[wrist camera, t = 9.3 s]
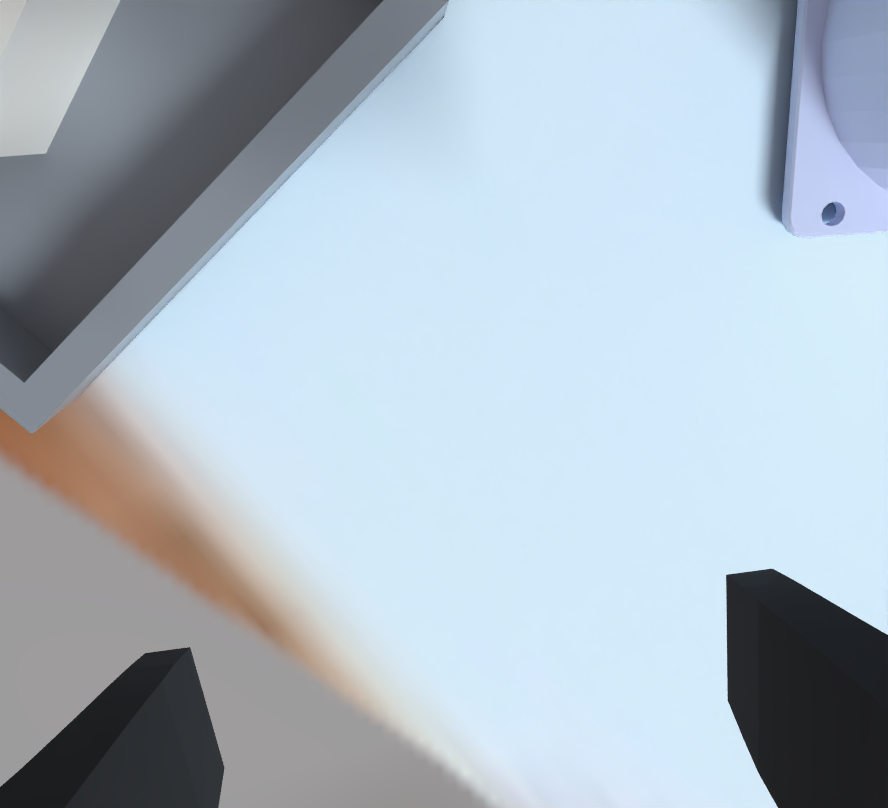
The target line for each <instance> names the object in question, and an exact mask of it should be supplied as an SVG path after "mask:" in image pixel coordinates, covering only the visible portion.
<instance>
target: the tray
mask: <svg viewBox="0 0 888 808" xmlns="http://www.w3.org/2000/svg"><path fill="white" fill-rule="evenodd" d="M448 1H449V0H120V2H119V4H118V6H117V8H116V11H115V13H114V15H113V17H112V19H111V21H110V23H109V25H108V27H107V29H106V31H105V33H104V35H103V37H102V39H101V41H100V43H99V45H98V48H97V50H96V52H95V54H94V56H93V58H92V60H91V62H90V64H89V66H88V68H87V70H86V72H85V74H84V76H83V78H82V80H81V82H80V84H79V87H78V89H77V91H76V93H75V95H74V97H73V99H72V101H71V103H70V105H69V107H68V109H67V111H66V113H65V115H64V117H63V119H62V121H61V124H60V126H59V128H58V130H57V132H56V134H55V136H54V138H53V140H52V142H51V144H50V146H49V148H48V150H47V152H46V154H33V155H19V156H5V157H0V409H2V410H3V411H4V412H5V413H7V414H8V415H9V416H10V417H11V418H13V419H14V420H15V421H16V422H18V423H19V424H20V425H21V426H23V427H24V428H25V429H26V430H28V431H29V432H30V433H31V434H33V433H34V432H35V431H37V430H38V429H39V428H40V427H41V426H43V425H44V424H45V423H46V422H48V421H49V420H50V419H51V418H53V417H54V416H55V415H56V414H57V413H59V412H60V411H61V410H62V409H64V408H65V407H66V406H67V405H69V404H70V403H71V402H72V401H73V400H75V399H76V398H77V397H78V396H79V395H80V394H81V393H82V392H83V391H84V390H85V389H86V388H87V387H88V386H89V385H90V384H91V383H92V382H93V381H94V380H95V379H96V378H97V377H98V375H99V374H100V373H101V372H102V371H103V370H104V369H105V368H106V367H107V366H108V365H109V364H110V363H111V362H112V361H113V360H114V359H115V358H116V357H117V356H118V355H119V354H120V353H121V352H122V351H123V350H124V349H125V347H126V346H127V345H128V344H129V343H130V342H131V341H132V340H133V339H134V338H135V337H136V336H137V335H138V334H139V333H140V332H141V331H142V330H143V329H144V328H145V327H146V326H147V325H148V324H149V323H150V322H151V321H152V319H153V318H154V317H155V316H156V315H157V314H158V313H159V312H160V311H161V310H162V309H163V308H164V307H165V306H166V305H167V304H168V303H169V302H170V301H171V300H172V299H173V298H174V297H175V296H176V295H177V294H178V293H179V292H180V290H181V289H182V288H183V287H184V286H185V285H186V284H187V283H188V282H189V281H190V280H191V279H192V278H193V277H194V276H195V275H196V274H197V273H198V272H199V271H200V270H201V269H202V268H203V267H204V266H205V265H206V264H207V262H208V261H209V260H210V259H211V258H212V257H213V256H214V255H215V254H216V253H217V252H218V251H219V250H220V249H221V248H222V247H223V246H224V245H225V244H226V243H227V242H228V241H229V240H230V239H231V238H232V237H233V236H234V234H235V233H236V232H237V231H238V230H239V229H240V228H241V227H242V226H243V225H244V224H245V223H246V222H247V221H248V220H249V219H250V218H251V217H252V216H253V215H254V214H255V213H256V212H257V211H258V210H259V209H260V208H261V207H262V205H263V204H264V203H265V202H266V201H267V200H268V199H269V198H270V197H271V196H272V195H273V194H274V193H275V192H276V191H277V190H278V189H279V188H280V187H281V186H282V185H283V184H284V183H285V182H286V181H287V180H288V179H289V177H290V176H291V175H292V174H293V173H294V172H295V171H296V170H297V169H298V168H299V167H300V166H301V165H302V164H303V163H304V162H305V161H306V160H307V159H308V158H309V157H310V156H311V155H312V154H313V153H314V152H315V151H316V149H317V148H318V147H319V146H320V145H321V144H322V143H323V142H324V141H325V140H326V139H327V138H328V137H329V136H330V135H331V134H332V133H333V132H334V131H335V130H336V129H337V128H338V127H339V126H340V125H341V124H342V123H343V122H344V120H345V119H346V118H347V117H348V116H349V115H350V114H351V113H352V112H353V111H354V110H355V109H356V108H357V107H358V106H359V105H360V104H361V103H362V102H363V101H364V100H365V99H366V98H367V97H368V96H369V95H370V94H371V92H372V91H373V90H374V89H375V88H376V87H377V86H378V85H379V84H380V83H381V82H382V81H383V80H384V79H385V78H386V77H387V76H388V75H389V74H390V73H391V72H392V71H393V70H394V69H395V68H396V67H397V66H398V64H399V63H400V62H401V61H402V60H403V59H404V58H405V57H406V56H407V55H408V54H409V53H410V52H411V51H412V50H413V49H414V48H415V47H416V46H417V45H418V44H419V43H420V42H421V41H422V40H423V39H424V38H425V37H426V35H427V34H428V33H429V32H430V31H431V30H432V29H433V28H434V27H435V26H436V25H437V24H438V23H439V22H440V21H441V20H442V19H443V18H444V15H445V11H446V8H447V5H448Z"/></svg>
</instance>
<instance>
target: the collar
mask: <svg viewBox="0 0 888 808" xmlns="http://www.w3.org/2000/svg"><path fill="white" fill-rule="evenodd" d="M119 2H120V0H0V157H5V156H19V155H33V154H46V152H47V150H48V148H49V146H50V144H51V142H52V140H53V138H54V136H55V134H56V132H57V130H58V128H59V126H60V124H61V121H62V119H63V117H64V115H65V113H66V111H67V109H68V107H69V105H70V103H71V101H72V99H73V97H74V95H75V93H76V91H77V89H78V87H79V84H80V82H81V80H82V78H83V76H84V74H85V72H86V70H87V68H88V66H89V64H90V62H91V60H92V58H93V56H94V54H95V52H96V50H97V48H98V45H99V43H100V41H101V39H102V37H103V35H104V33H105V31H106V29H107V27H108V25H109V23H110V21H111V19H112V17H113V15H114V13H115V11H116V8H117V6H118V4H119Z"/></svg>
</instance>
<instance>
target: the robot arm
mask: <svg viewBox="0 0 888 808" xmlns="http://www.w3.org/2000/svg"><path fill="white" fill-rule="evenodd" d="M832 202H833V204H834V205H835V207H836V213H835V216H834V218H833V219H832V220H831V221H830V222H829V223H826V224H825V223H824V222H823V221H822V216H821V214H822V211H823V209H824V208H825V207H826V206H827V205H828V204H829V203H832ZM782 222H783V225H784V227H785V229H786V230H787V231H788V232H789V233H791V234H792V235H794V236H798V237H803V238H817V237H831V236H845V235H858V234H872V233H886V232H888V0H798V6H797V19H796V32H795V46H794V59H793V72H792V86H791V99H790V112H789V125H788V139H787V152H786V165H785V178H784V192H783V205H782ZM726 589H727V677H728V702H729V704H730V707H731V709H732V712H733V714H734V717H735V719H736V722H737V724H738V726H739V729H740V731H741V734H742V736H743V739H744V741H745V743H746V746H747V748H748V750H749V752H750V755H751V757H752V759H753V762H754V764H755V766H756V768H757V771H758V773H759V774H760V776H761V778H762V780H763V782H764V784H765V785H766V787H767V789H768V791H769V792H770V794H771V796H772V798H773V800H774V801H775V803H776V805H777V807H778V808H888V635H887V634H885V633H883V632H881V631H880V630H878V629H876V628H874V627H873V626H871V625H869V624H868V623H866V622H864V621H862V620H861V619H859V618H857V617H856V616H854V615H852V614H850V613H849V612H847V611H845V610H844V609H842V608H840V607H839V606H837V605H835V604H833V603H832V602H830V601H828V600H827V599H825V598H823V597H822V596H820V595H818V594H816V593H815V592H813V591H811V590H810V589H808V588H806V587H804V586H803V585H801V584H799V583H798V582H796V581H794V580H792V579H790V578H789V577H787V576H785V575H783V574H781V573H779V572H777V571H776V570H774V569H767V570H759V571H752V572H744V573H737V574H729V575H726ZM223 773H224V765H223V762H222V758H221V754H220V751H219V747H218V744H217V740H216V737H215V733H214V730H213V726H212V723H211V719H210V716H209V712H208V709H207V705H206V701H205V698H204V695H203V691H202V688H201V684H200V681H199V677H198V674H197V670H196V666H195V663H194V659H193V656H192V652H191V649H190V647H189V648H181V649H174V650H166V651H159V652H152V653H145V654H144V655H143V656H141V657H140V658H139V659H138V660H137V661H135V662H134V663H133V664H132V665H131V666H130V667H129V668H128V669H126V670H125V671H124V672H123V673H122V674H121V675H120V676H119V677H118V678H117V679H116V680H115V681H114V682H113V683H111V684H110V685H109V686H108V687H107V688H106V689H105V690H104V691H103V692H102V693H101V694H100V695H99V696H98V697H97V698H96V699H95V700H94V701H93V702H91V704H89V705H88V706H87V707H86V708H85V709H84V710H83V711H82V712H81V713H80V714H79V715H78V716H77V717H76V718H75V719H74V720H73V721H72V722H70V723H69V724H68V725H67V726H66V727H65V728H64V729H63V730H62V731H61V732H60V733H59V734H58V735H57V736H56V737H55V738H54V739H52V740H51V741H50V742H49V743H48V744H47V745H46V746H45V747H44V748H43V749H42V750H41V751H40V752H39V753H38V754H37V755H36V756H34V758H32V759H31V760H30V761H29V762H28V763H27V764H26V765H25V766H24V767H23V768H22V769H20V770H19V771H18V772H17V773H16V774H15V775H14V776H12V777H11V778H10V779H9V780H8V781H7V782H6V783H4V784H3V785H2V786H1V787H0V808H218V805H219V799H220V792H221V786H222V780H223Z"/></svg>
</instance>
